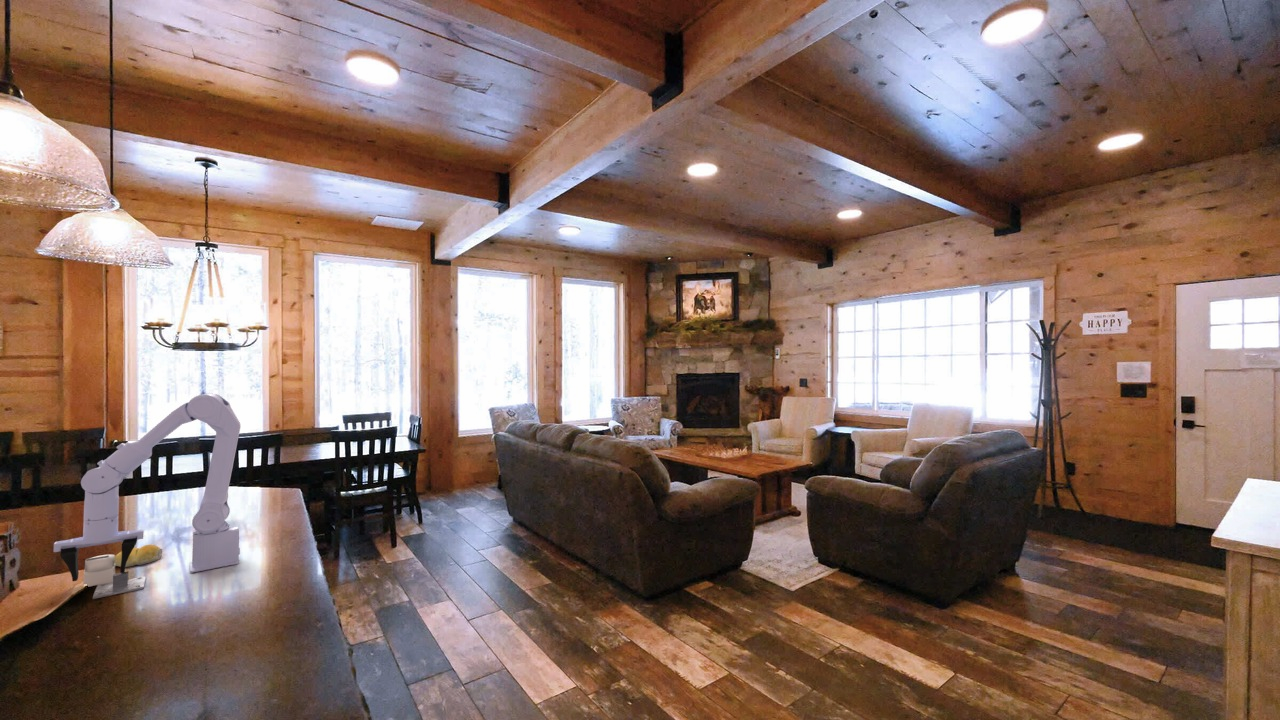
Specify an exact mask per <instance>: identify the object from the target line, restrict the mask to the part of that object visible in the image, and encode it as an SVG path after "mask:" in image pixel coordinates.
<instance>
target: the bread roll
mask: <svg viewBox="0 0 1280 720" xmlns="http://www.w3.org/2000/svg"><path fill="white" fill-rule="evenodd" d="M162 555H163V549H162V548H161V547H159V546H157V545H155V544H145V545H143V546H141V547H134V548H133V550H132V552H131V553H130V555H129V558H128V560H127V562H126V566H125V568H126V567H134V566H142V565H146V564H147V565H148V564H150V563H153V562H156V561H158V560H160V559H161V557H162ZM121 560H122V550H121V551H120V552H118V553H117V554H115V567H121Z"/></svg>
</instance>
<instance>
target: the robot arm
mask: <svg viewBox="0 0 1280 720" xmlns="http://www.w3.org/2000/svg"><path fill="white" fill-rule="evenodd" d="M196 420H198V421H200V422H203V423H204V424H205V423H206V425H208V426H209V427H210V428H211V429H213V431H215V433H216V434H215V437H214V443H213V448H212V454H211V457H210V458H211V459H210V463H209V468H208V471H207V477H206V478H207V479H206V483H205V488H204V493H203V496H202V499H201V502H200V506H199V508H198V511H197V512H196V513H195V515H194V516H193V518H192V520H191V521H192V527H193V530H192V553H191V554H192V556H191V557H192V559H191V562H189V573H191V574H192V573H197V572H198V573H199V572H202V571H208V570H212V569H217V568H222V567H223V568H224V567H227V566H233V565H237V564H240V563H239V562H240V561H239V558H240V557H239V556H240V554H241V550H240V549H241V548H240V528H239V526H230V524H229V523H228V522H227V521H226V520H227V518H228V517H229V515H230V513H231V510H230V509H231V508H230V506H229V503H228V498H229V487H230V482H231V477H232V472H233V467H234V461H235V456H236V451H237V446H238V441H239V438H240V437H239V436H240V431H241V422H240V420H239V419H238V417H237V415H236V414H235V412H234V410H233V409H232V407H231V404H230V402H229V401H227V400H226V399H225V398H223V396H221V395H219V394H217V393H213V392H211V393H210V392H209V393H205V394H199V395H196V396H194V397H193V398H191V399H190V400H189V401H188V402H184V404H182V405H180V406H179V407H177V408H175V409H174V410H173V411H171V412H170V413H169V414H168V415H167V416H165V417H164V418H163V419H162V420H160V422H158V424H156V425H155V426H154V427H152V429H150V430H149V431H148V432H147V433H145V435H144V436H142V437H141V438H140V439H138V440H137V439H136V440H128V441H127V442H126V443H124V442H122V443H120V444H119V445H117V446H116V449H117V450H115V451H114V452H113V453H112V454H110V455H109V456H108V457H107V458H106V459H104V460H103V459H102V460H99V461H98V462H97V465H98V467H95V468H91V469H90V470H87V471H86V472H85V474H84V475H83V477H82V478H81V480H80V485H81V488H82V489H83V490H84V501H83V527H82V528H83V529H82V530H83V531H82V536H80V537H75V538H70V539H65V540H59V541H55V542H54V543H53V553H57V552H58V553H59V552H60V554H59V556H60V558H61V559H62V560H63V562H64V563H65V565H66V567H67V568H68V570H69V572H70V575H71V580H72V582H77V581H78V579H79V553H80V552H79V551H80V549H81V548H88V547H94V546H100V545H101V546H102V545H107V544H113V543H121V542H122V543H121V551H122V560H121V567H120V568H119V573H122V572H126V571H125V570H126V567H125V566H126V562H127V560H128V558H129V555H130V553H131V552H132V550H133V548H135V546H136V545H137V543H138V540H142V539H144V532H145V529H143V528H142V529H136V530H135V529H134V530H133V529H132V530H124V531H122V530H121V531H119V513H120V511H119V509H120V496H119V492H120V491H119V489H120V486H119V485H120V484H121V483H122V482H124V481H123V480H124V478H125V477H128V476H129V475H130V474H131V473H132V472H135V470H136V469H137V468H138V467H140V466H141V465H142V464H143V463H145V462H146V461H148V459H150V458H151V457H152V455H153V447H155V446H156V445H158V444H159V443H160V442H161V441H162V440H164V439H165V438H166V437H168V436H169V435H170V434H171V433H173V432H174V431H175V430H177V429H178V428H180V427H181V426H182V425H184V424H187V423H191V422H194V421H196Z"/></svg>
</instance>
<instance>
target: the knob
mask: <svg viewBox="0 0 1280 720" xmlns="http://www.w3.org/2000/svg"><path fill="white" fill-rule="evenodd" d="M115 556H116V554H103V555H97V556H93V557H92V556H91V557H89V558H86V559H85V561H84V572H83V581H82V582H83V583H82V584H87V585H88V587H93V586H97V585H101V584H107V583H112V582H113V575H114V574H116V566H115Z"/></svg>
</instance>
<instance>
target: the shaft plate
mask: <svg viewBox="0 0 1280 720" xmlns="http://www.w3.org/2000/svg"><path fill="white" fill-rule="evenodd" d="M146 579H147V577H146V576H145V575H144V576H140V577H139V576H138V577H134V578H129V571H127V570H126V571H125V572H122V573H120V572H118V573H116V572H115V574H114V575H113V582H110V583H105V584H100V585H96V588H95V590H94V593H93V596H92V600H95V599H99V598H104V597H105V598H106V597H110V596H115V595H120V594H123V593H130V592H133V591H134V592H135V591H140V590H144V589H145V583H146Z"/></svg>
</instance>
